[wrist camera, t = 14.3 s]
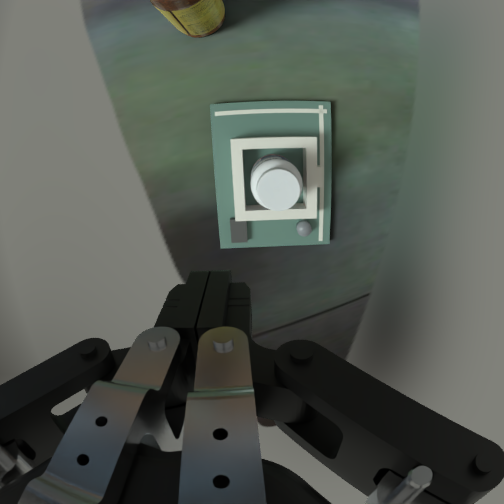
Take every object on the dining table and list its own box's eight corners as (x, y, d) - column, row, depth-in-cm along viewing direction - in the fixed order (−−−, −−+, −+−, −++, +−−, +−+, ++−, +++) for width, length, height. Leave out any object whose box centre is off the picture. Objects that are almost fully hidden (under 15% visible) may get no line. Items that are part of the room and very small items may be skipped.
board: (211, 105, 33) (206, 103, 30) (328, 102, 33) (336, 100, 29) (221, 245, 40) (218, 256, 37) (327, 241, 40) (333, 251, 37)
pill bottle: (300, 189, 36) (314, 209, 28) (259, 202, 37) (260, 226, 29) (287, 148, 34) (298, 155, 26) (244, 161, 35) (242, 172, 27)
